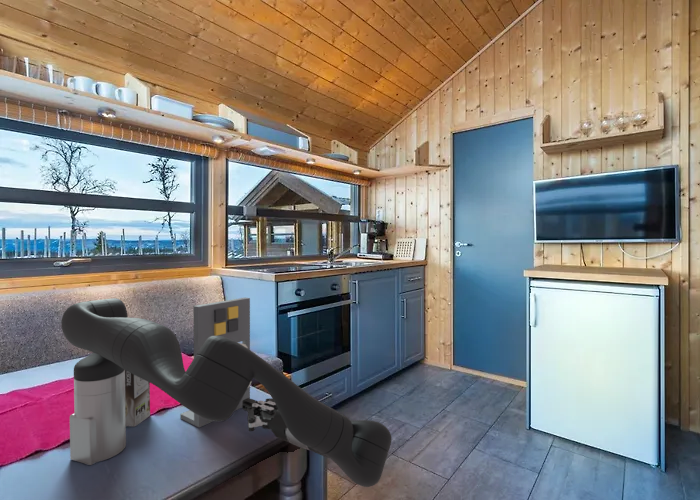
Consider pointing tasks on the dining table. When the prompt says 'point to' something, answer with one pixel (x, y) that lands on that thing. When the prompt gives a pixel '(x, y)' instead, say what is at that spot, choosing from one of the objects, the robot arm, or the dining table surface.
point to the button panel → (224, 322)
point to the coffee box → (136, 399)
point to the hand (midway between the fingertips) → (244, 403)
